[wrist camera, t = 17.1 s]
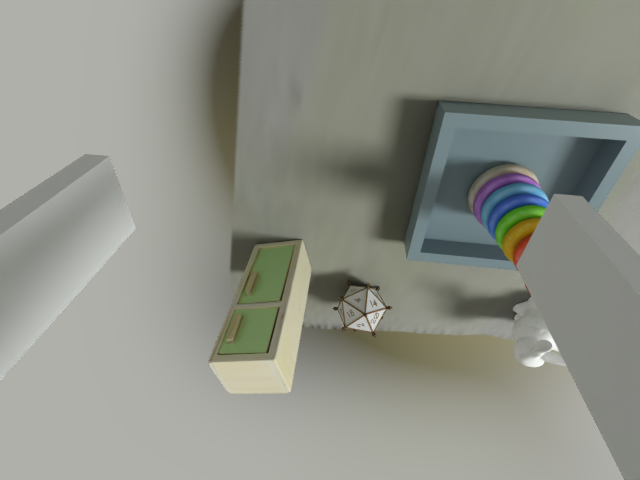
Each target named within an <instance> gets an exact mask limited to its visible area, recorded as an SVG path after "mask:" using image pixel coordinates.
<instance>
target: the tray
mask: <svg viewBox="0 0 640 480" xmlns="http://www.w3.org/2000/svg"><path fill="white" fill-rule="evenodd" d="M639 146H640V120H638V119H636V118H634V117H632V116H631V115H629V114H622V113H608V112H594V111H580V110H566V109H552V108H537V107H523V106H509V105H495V104H481V103H466V102H452V101H438V105H437V109H436V113H435V117H434V121H433V126H432V130H431V134H430V138H429V142H428V146H427V150H426V154H425V158H424V163H423V167H422V171H421V175H420V179H419V183H418V187H417V191H416V195H415V200H414V204H413V208H412V212H411V216H410V220H409V224H408V228H407V232H406V236H405V241H404V244H405V251H406V258H407V260H416V261H426V262H436V263H447V264H457V265H467V266H477V267H487V268H498V269H508V270H517V269H516V267H515V265H514V263H513V262H511V261H510V260H509V259H508V258H507V257H506V256H505V254H504V253H503V250H502V249H501V248H500V247H499V245H498V244H497V242H496V241H495V240H494V239H493V238H492V237H491V235H490V233H489V232H488V231H487V230H486V229H485V227H484V226H483V225H481V224H480V223H479V222H478V221H477V219H476V218H475V215H474V214H473V213H472V211H471V210H470V208H469V204H468V193H469V190H470V188H471V186H472V184H473V183H474V181H475V180H476V179H477V178H478V177H479V176H480V175H481V174H483V173H484V172H486V171H487V170H489V169H491V168H493V167H496V166H499V165H504V164H517V165H521V166H524V167H526V168H528V169H530V170H531V171H532V172H533V173H534V174H535V175H536V177H537V179H538V181H539V185H540V187H541V189H542V190H543V191H544V193H545V194H546V195H547V197H548V200H549V202H550V201H551V199H552V197H553V195H554V194H563V195H575V196H583V197H584V198H585V199H586V201H587V202H588V203H589V204H590V205H591V206H592V207H593V208H594V209H595V210H596V211H597V212H598V210H599V208H600V207H601V205H602V204H603V202H604V201H605V199H606V198H607V196H608V195H609V193H610V191H611V190H612V188H613V187H614V185H615V184H616V182H617V181H618V179H619V177H620V176H621V174H622V173H623V171H624V170H625V168H626V167H627V165H628V163H629V162H630V160H631V159H632V157H633V156H634V154H635V153H636V151H637V149H638V148H639Z"/></svg>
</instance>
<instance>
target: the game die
mask: <svg viewBox="0 0 640 480" xmlns="http://www.w3.org/2000/svg"><path fill="white" fill-rule="evenodd" d="M348 285H349V288H348V289H347V291H346V293H345V294H344V296H343V297H338V300H341V301H340V303H339V305H338V307H334V308H333V309H334V310H338V312H339V314H340V316H341V319H342V321H343V324H344V327H343V328H342V331H345V329H346V328H349V329H353V330H354V331H357V330H360V331H365V332H371V333H372V335H373V336H374V337H375V338H376V334H375V333H374V331H375V329H376V327H377V325H378V324H379V322H380V320H381V319H382V318H383V315H384V313H385V311H386V309H392V307H390V306H388V307H386V305H385V303H384V302H383V300H382V298H381V297H380V295H379V293H378V292H377V291H379V290H380V289H379V287H377V288H376V290H375V289H372V288H369V287H370V284H369V283H368V284H367V285H366V286H367V287H364V286H355V285H351V282H350V281H348Z"/></svg>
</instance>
